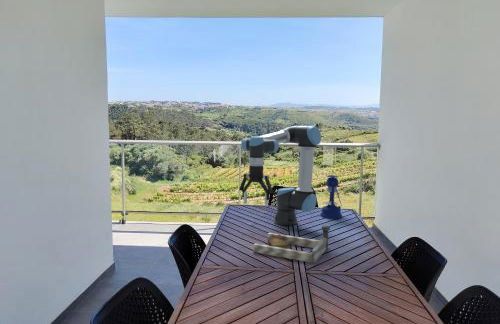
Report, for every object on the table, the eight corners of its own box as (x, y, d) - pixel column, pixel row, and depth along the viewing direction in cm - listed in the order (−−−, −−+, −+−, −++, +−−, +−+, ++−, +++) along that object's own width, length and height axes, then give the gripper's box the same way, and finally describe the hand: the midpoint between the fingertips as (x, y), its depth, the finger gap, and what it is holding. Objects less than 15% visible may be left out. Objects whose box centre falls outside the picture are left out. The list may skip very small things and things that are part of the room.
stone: (288, 252, 190) (288, 242, 190) (271, 253, 189) (271, 243, 188) (281, 242, 205) (281, 233, 204) (265, 243, 203) (265, 234, 203)
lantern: (319, 212, 271) (321, 172, 267) (340, 213, 269) (342, 173, 265) (320, 218, 254) (322, 176, 250) (343, 219, 252) (345, 177, 248)
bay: (253, 251, 190) (253, 230, 188) (271, 237, 213) (271, 218, 211) (318, 263, 175) (318, 240, 174) (329, 246, 199) (330, 226, 197)
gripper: (233, 164, 197) (232, 203, 200) (274, 167, 187) (273, 208, 190) (239, 163, 204) (239, 200, 207) (279, 165, 194) (278, 205, 197)
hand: (255, 204), depth 198 cm, fingers open, 12 cm apart
